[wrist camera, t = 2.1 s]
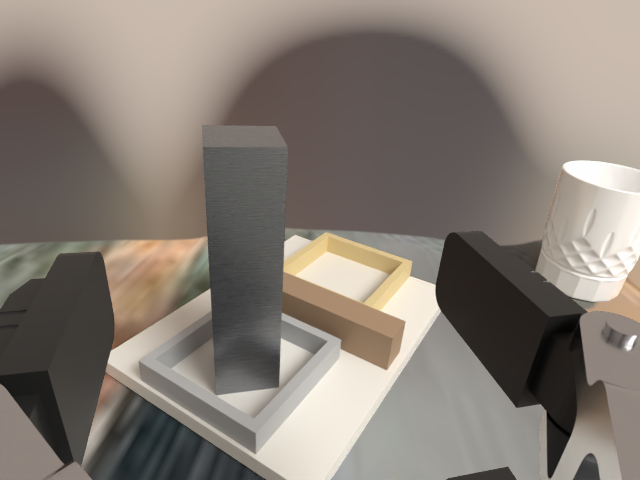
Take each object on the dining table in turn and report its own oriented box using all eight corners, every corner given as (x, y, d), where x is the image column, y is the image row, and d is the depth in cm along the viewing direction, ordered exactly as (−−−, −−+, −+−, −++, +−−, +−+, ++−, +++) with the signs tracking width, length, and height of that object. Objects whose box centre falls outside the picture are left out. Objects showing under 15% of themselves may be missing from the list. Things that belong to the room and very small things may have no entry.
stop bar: (216, 395, 25) (202, 146, 18) (214, 352, 28) (202, 125, 21) (278, 387, 26) (287, 147, 19) (270, 346, 29) (276, 126, 22)
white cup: (625, 319, 36) (681, 204, 31) (521, 286, 39) (558, 177, 34) (623, 276, 42) (670, 174, 37) (534, 250, 45) (566, 154, 41)
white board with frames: (311, 509, 21) (316, 460, 19) (102, 370, 27) (93, 324, 26) (447, 300, 36) (456, 263, 35) (294, 244, 43) (296, 210, 41)
